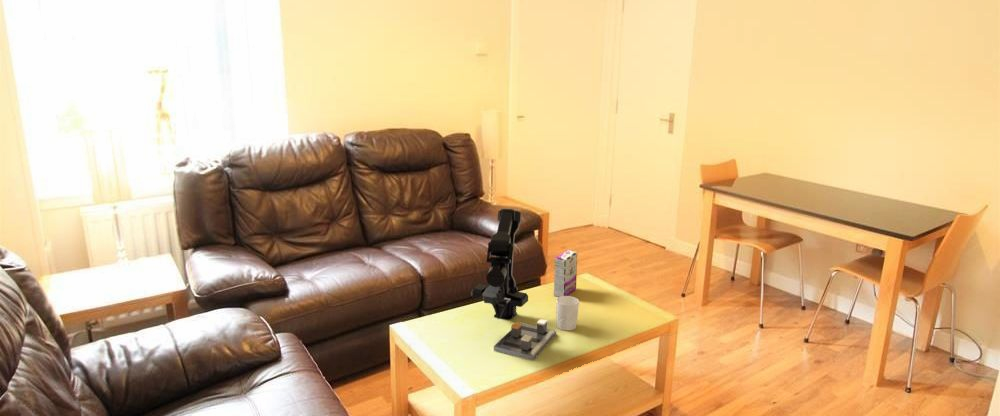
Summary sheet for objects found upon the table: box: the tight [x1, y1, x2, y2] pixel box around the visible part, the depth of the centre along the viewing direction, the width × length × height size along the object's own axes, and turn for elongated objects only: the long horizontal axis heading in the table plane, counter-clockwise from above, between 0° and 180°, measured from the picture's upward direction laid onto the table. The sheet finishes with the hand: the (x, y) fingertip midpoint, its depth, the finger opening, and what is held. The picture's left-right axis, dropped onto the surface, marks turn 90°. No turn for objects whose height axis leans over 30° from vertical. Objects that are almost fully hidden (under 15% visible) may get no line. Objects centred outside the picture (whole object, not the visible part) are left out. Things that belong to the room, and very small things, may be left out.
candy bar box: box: [553, 249, 578, 298], centre depth 240 cm, size 11×5×16 cm, turn 148°
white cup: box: [555, 295, 580, 332], centre depth 212 cm, size 8×8×10 cm
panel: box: [493, 322, 557, 361], centre depth 201 cm, size 14×20×2 cm
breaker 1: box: [510, 322, 522, 337], centre depth 202 cm, size 2×3×4 cm
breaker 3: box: [536, 318, 548, 334], centre depth 205 cm, size 2×3×4 cm
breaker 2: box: [521, 335, 532, 350], centre depth 194 cm, size 2×3×4 cm
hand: (499, 318), depth 204 cm, fingers closed
